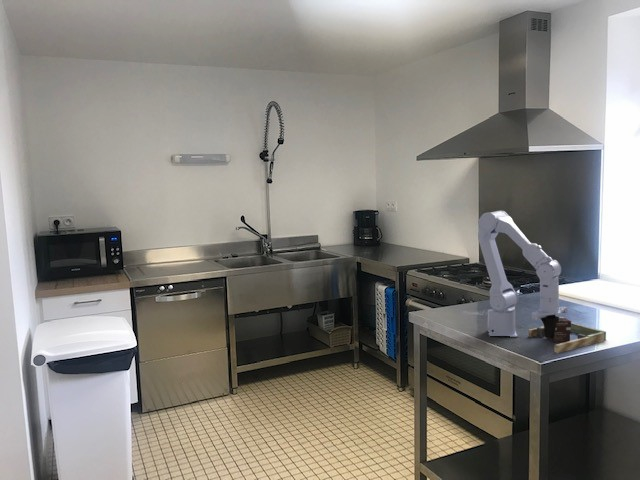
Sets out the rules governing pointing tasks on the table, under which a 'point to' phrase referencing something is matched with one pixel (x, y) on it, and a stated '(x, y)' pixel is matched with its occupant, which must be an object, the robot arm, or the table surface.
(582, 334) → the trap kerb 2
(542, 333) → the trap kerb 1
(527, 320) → the table surface
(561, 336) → the box
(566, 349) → the wooden frame
